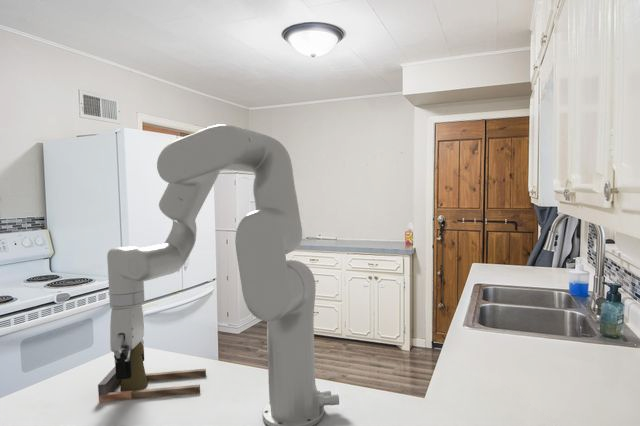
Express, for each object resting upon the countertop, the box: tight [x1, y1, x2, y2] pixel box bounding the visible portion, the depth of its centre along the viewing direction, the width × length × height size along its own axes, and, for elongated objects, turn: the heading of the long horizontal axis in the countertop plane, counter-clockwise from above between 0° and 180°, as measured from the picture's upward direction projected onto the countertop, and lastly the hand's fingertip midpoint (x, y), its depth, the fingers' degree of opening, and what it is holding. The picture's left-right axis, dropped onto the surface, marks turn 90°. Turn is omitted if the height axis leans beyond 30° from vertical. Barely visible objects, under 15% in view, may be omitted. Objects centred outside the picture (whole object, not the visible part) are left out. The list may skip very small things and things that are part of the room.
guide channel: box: [97, 366, 207, 403], centre depth 99 cm, size 22×10×4 cm, turn 97°
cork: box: [119, 342, 149, 392], centre depth 99 cm, size 6×6×11 cm
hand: (131, 369), depth 98 cm, fingers open, 9 cm apart
